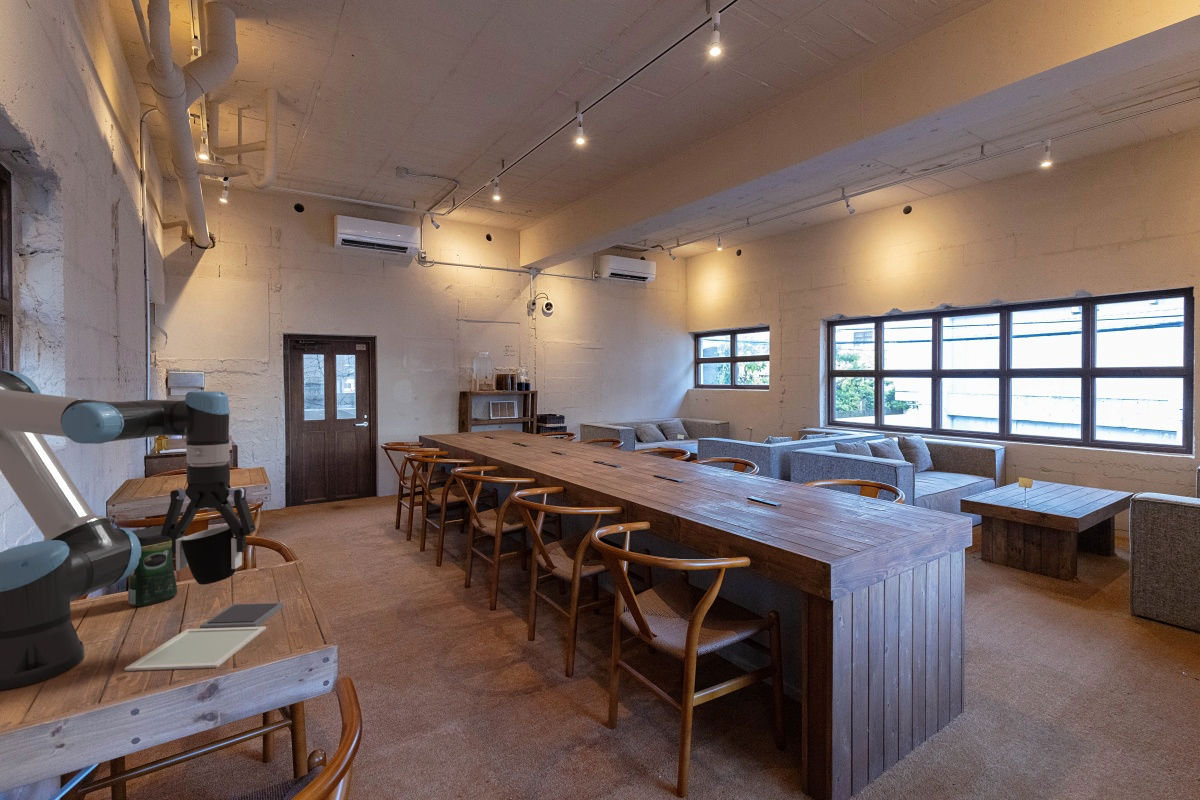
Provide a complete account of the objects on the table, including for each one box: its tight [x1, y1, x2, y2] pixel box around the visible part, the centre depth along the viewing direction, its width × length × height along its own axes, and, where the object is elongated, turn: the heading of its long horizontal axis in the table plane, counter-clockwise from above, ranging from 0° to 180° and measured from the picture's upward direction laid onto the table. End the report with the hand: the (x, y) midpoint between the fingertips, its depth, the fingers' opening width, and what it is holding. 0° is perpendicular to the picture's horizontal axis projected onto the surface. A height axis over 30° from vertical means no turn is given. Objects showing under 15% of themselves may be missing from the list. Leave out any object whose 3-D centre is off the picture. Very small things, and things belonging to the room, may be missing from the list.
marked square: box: [124, 625, 267, 672], centre depth 114 cm, size 17×17×1 cm
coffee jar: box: [127, 525, 178, 607], centre depth 141 cm, size 10×8×19 cm
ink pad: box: [199, 602, 285, 629], centre depth 129 cm, size 12×12×1 cm
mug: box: [181, 525, 237, 586], centre depth 119 cm, size 12×9×10 cm
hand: (209, 567), depth 119 cm, fingers closed on mug, 10 cm apart
